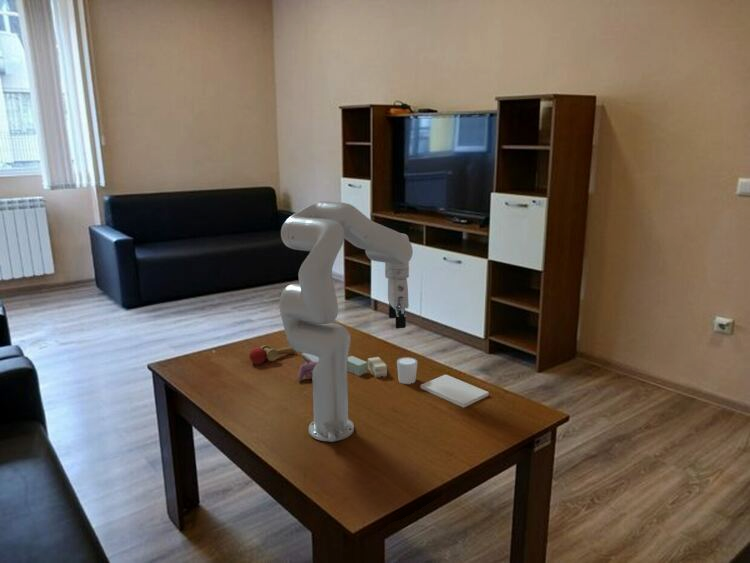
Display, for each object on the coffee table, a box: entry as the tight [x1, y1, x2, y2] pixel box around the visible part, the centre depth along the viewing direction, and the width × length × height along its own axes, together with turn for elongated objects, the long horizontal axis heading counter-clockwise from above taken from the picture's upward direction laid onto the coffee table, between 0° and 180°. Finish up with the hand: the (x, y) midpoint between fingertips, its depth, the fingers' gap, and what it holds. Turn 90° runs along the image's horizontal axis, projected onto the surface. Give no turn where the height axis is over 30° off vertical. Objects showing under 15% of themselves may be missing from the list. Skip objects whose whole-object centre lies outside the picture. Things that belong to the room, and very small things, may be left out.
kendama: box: [249, 345, 297, 365], centre depth 214 cm, size 8×6×18 cm
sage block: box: [347, 355, 368, 377], centre depth 203 cm, size 8×4×4 cm, turn 44°
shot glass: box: [396, 356, 418, 385], centre depth 195 cm, size 7×7×7 cm
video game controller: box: [297, 361, 318, 383], centre depth 197 cm, size 10×5×7 cm, turn 85°
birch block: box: [367, 356, 388, 378], centre depth 202 cm, size 8×4×4 cm, turn 20°
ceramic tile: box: [420, 374, 490, 409], centre depth 187 cm, size 18×12×1 cm, turn 41°
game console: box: [301, 352, 319, 362], centre depth 212 cm, size 18×2×8 cm
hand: (397, 322), depth 192 cm, fingers open, 9 cm apart
